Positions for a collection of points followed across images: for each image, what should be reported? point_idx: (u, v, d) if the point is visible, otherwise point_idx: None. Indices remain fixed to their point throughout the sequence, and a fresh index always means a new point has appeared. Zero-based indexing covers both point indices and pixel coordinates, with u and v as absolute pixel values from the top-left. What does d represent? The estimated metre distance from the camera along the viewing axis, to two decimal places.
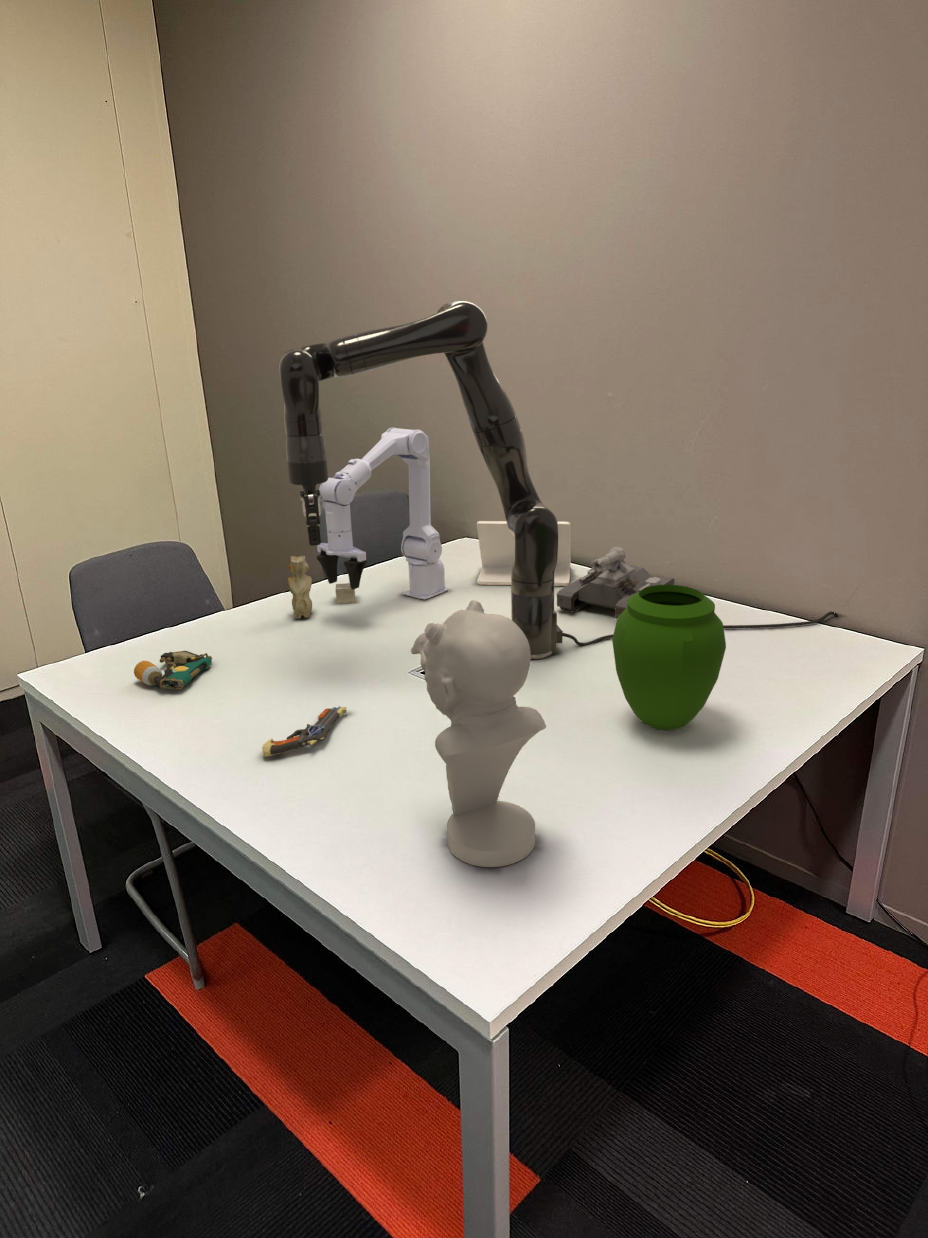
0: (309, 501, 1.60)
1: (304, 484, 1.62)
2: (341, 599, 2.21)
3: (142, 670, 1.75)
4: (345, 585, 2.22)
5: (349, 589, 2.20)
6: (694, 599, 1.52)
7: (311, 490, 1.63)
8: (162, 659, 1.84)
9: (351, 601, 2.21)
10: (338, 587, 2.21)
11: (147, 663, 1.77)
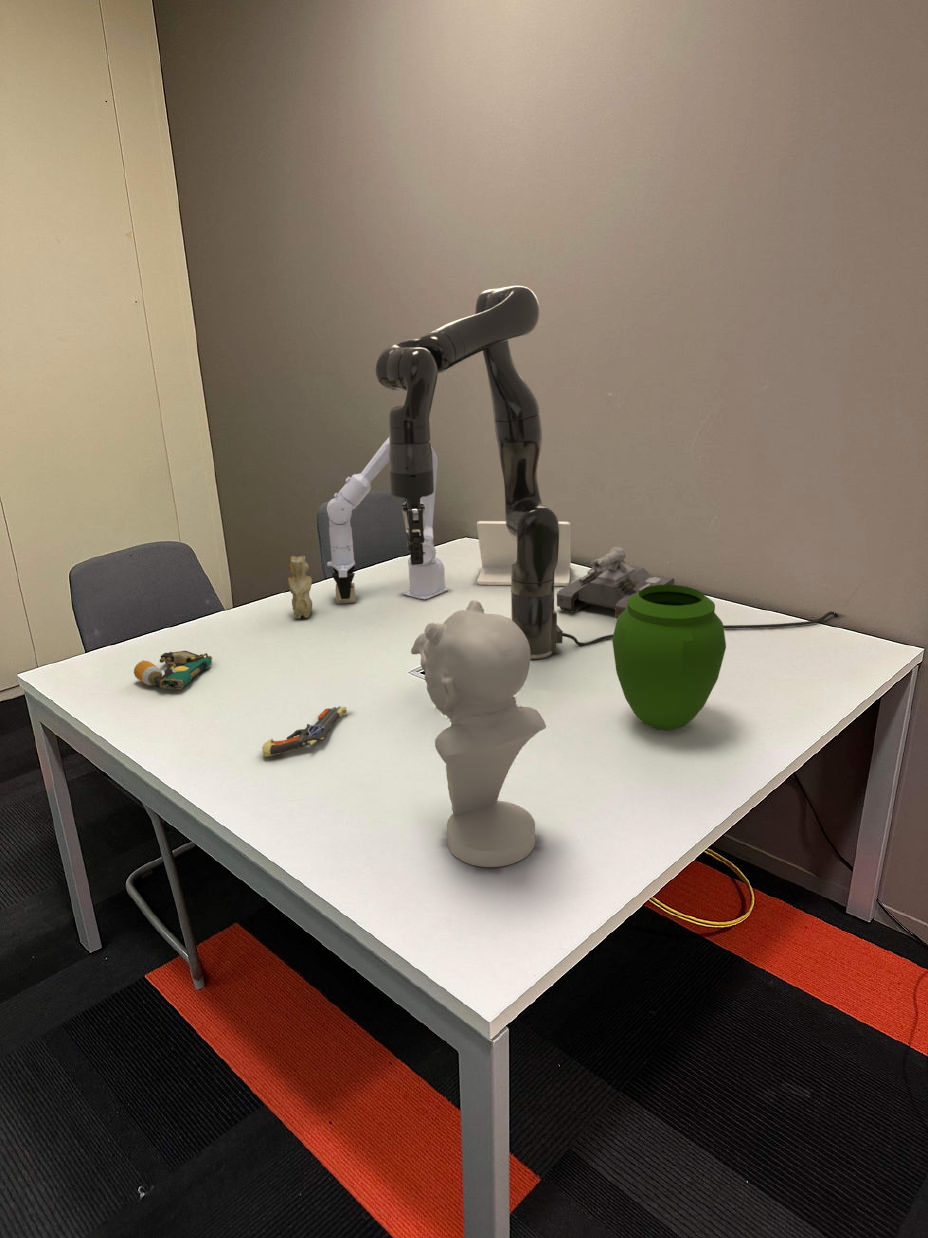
0: None
1: None
2: (341, 599, 2.21)
3: (142, 670, 1.75)
4: None
5: None
6: (694, 599, 1.52)
7: None
8: (162, 659, 1.84)
9: (351, 601, 2.21)
10: None
11: (147, 663, 1.77)
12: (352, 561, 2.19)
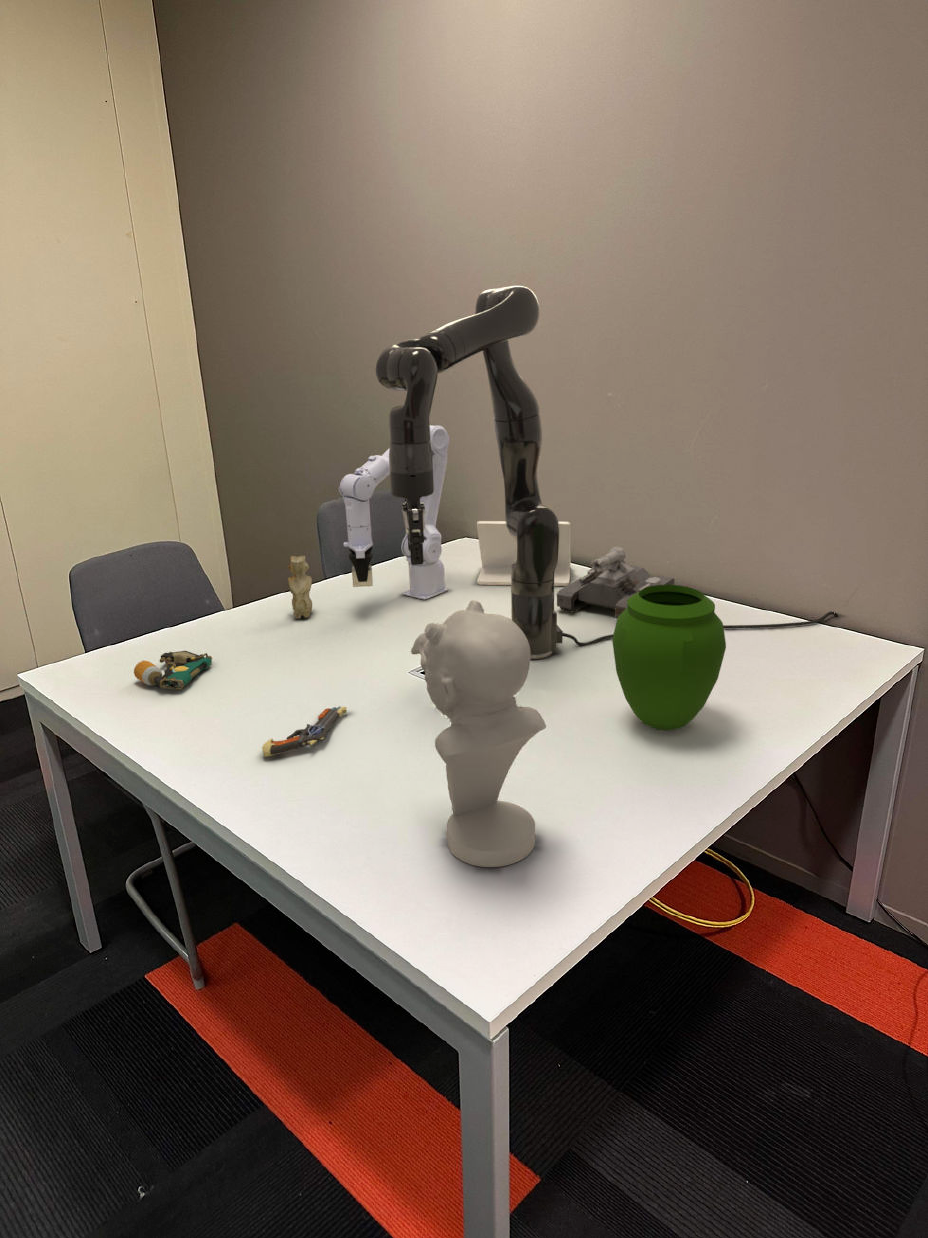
0: None
1: None
2: (357, 582, 2.08)
3: (142, 670, 1.75)
4: None
5: None
6: (694, 599, 1.52)
7: None
8: (162, 659, 1.84)
9: (368, 584, 2.09)
10: (354, 569, 2.08)
11: (147, 663, 1.77)
12: (370, 541, 2.06)
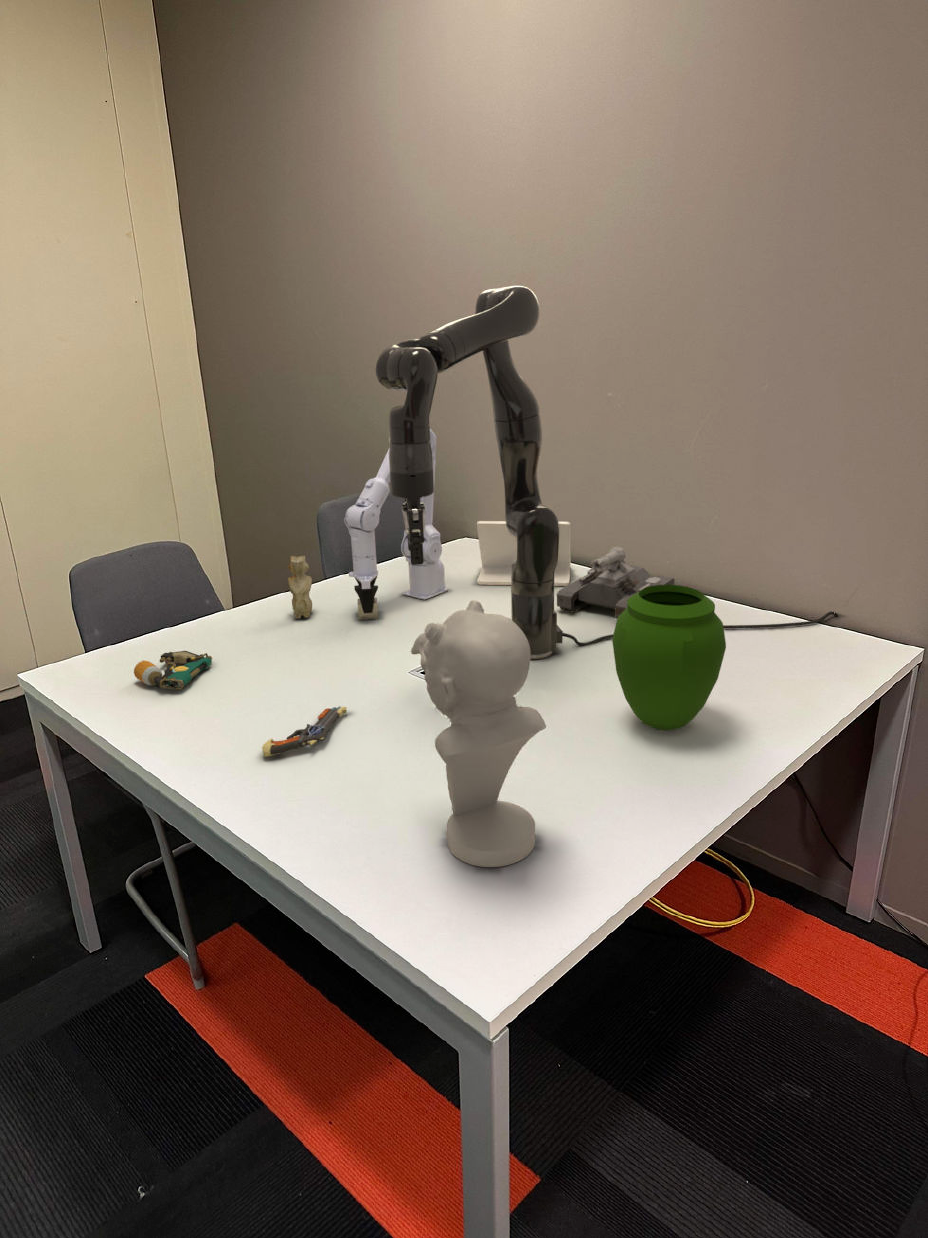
0: None
1: None
2: (363, 615, 2.09)
3: (142, 670, 1.75)
4: None
5: None
6: (694, 599, 1.52)
7: None
8: (162, 659, 1.84)
9: (374, 617, 2.10)
10: (360, 602, 2.09)
11: (147, 663, 1.77)
12: (375, 571, 2.07)
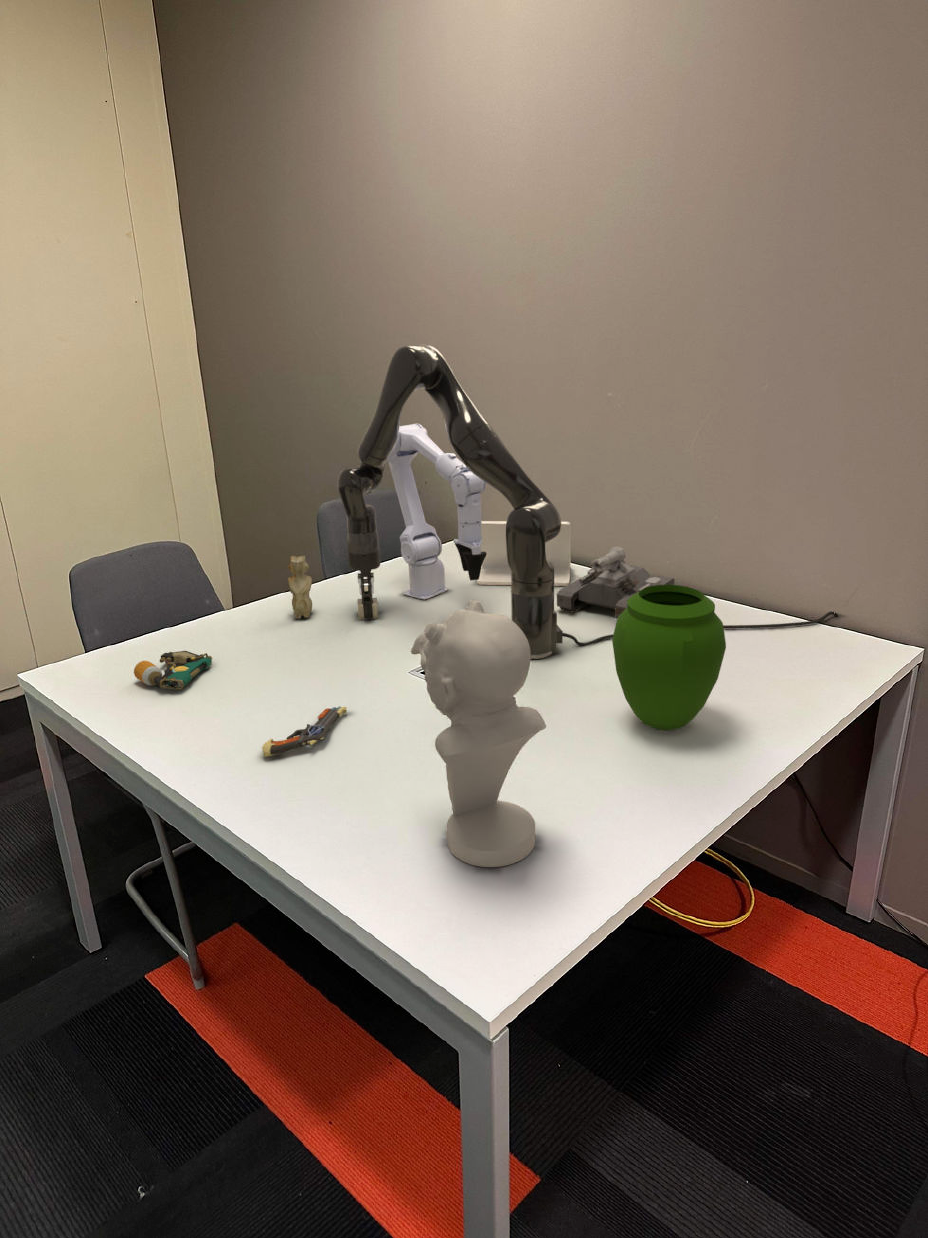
0: None
1: None
2: (363, 615, 2.09)
3: (142, 670, 1.75)
4: None
5: (372, 604, 2.09)
6: (694, 599, 1.52)
7: None
8: (162, 659, 1.84)
9: (374, 617, 2.10)
10: (360, 602, 2.09)
11: (147, 663, 1.77)
12: (481, 538, 2.06)
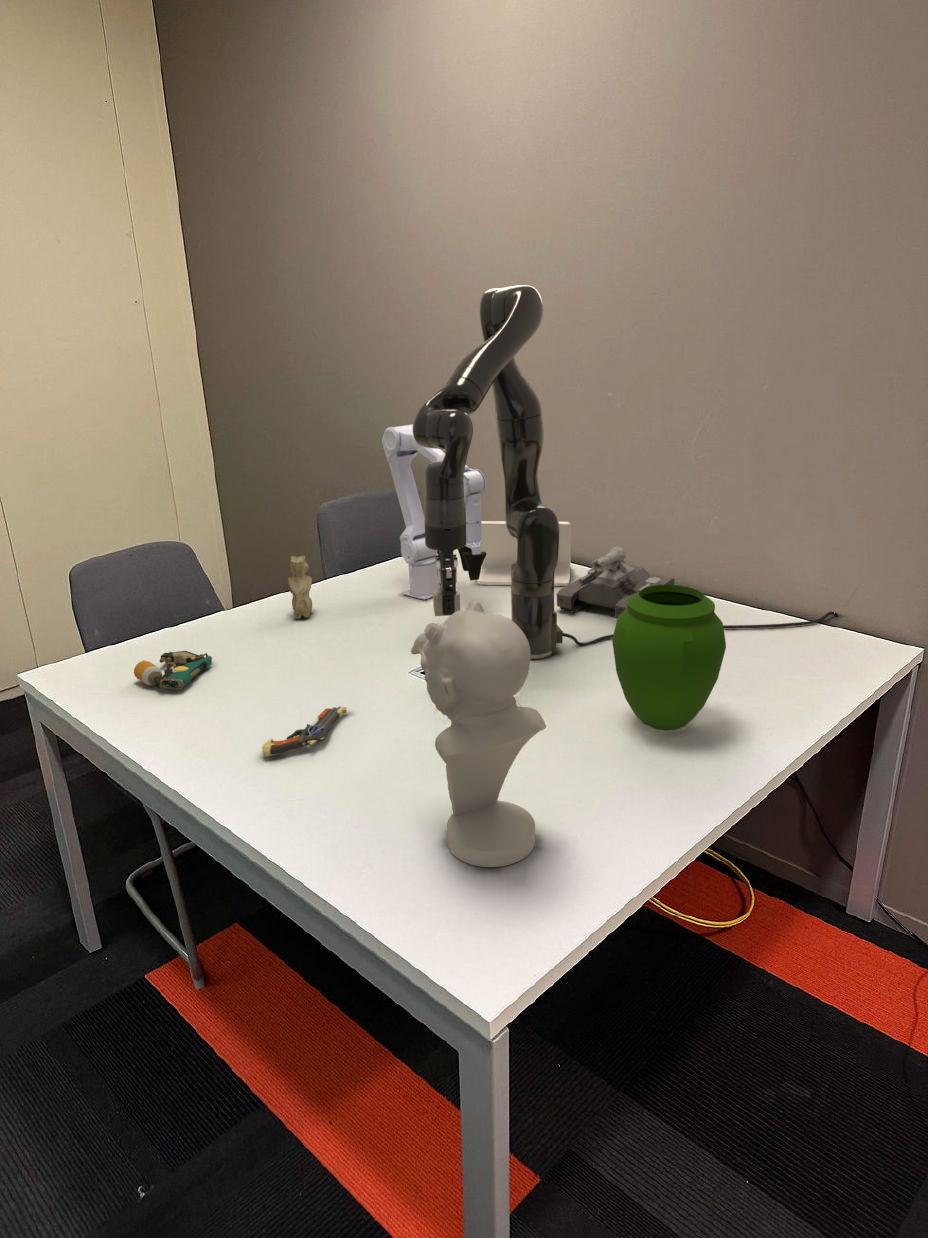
0: None
1: None
2: (441, 610, 1.58)
3: (142, 670, 1.75)
4: None
5: None
6: (694, 599, 1.52)
7: None
8: (162, 659, 1.84)
9: None
10: (437, 593, 1.58)
11: (147, 663, 1.77)
12: (481, 538, 2.06)
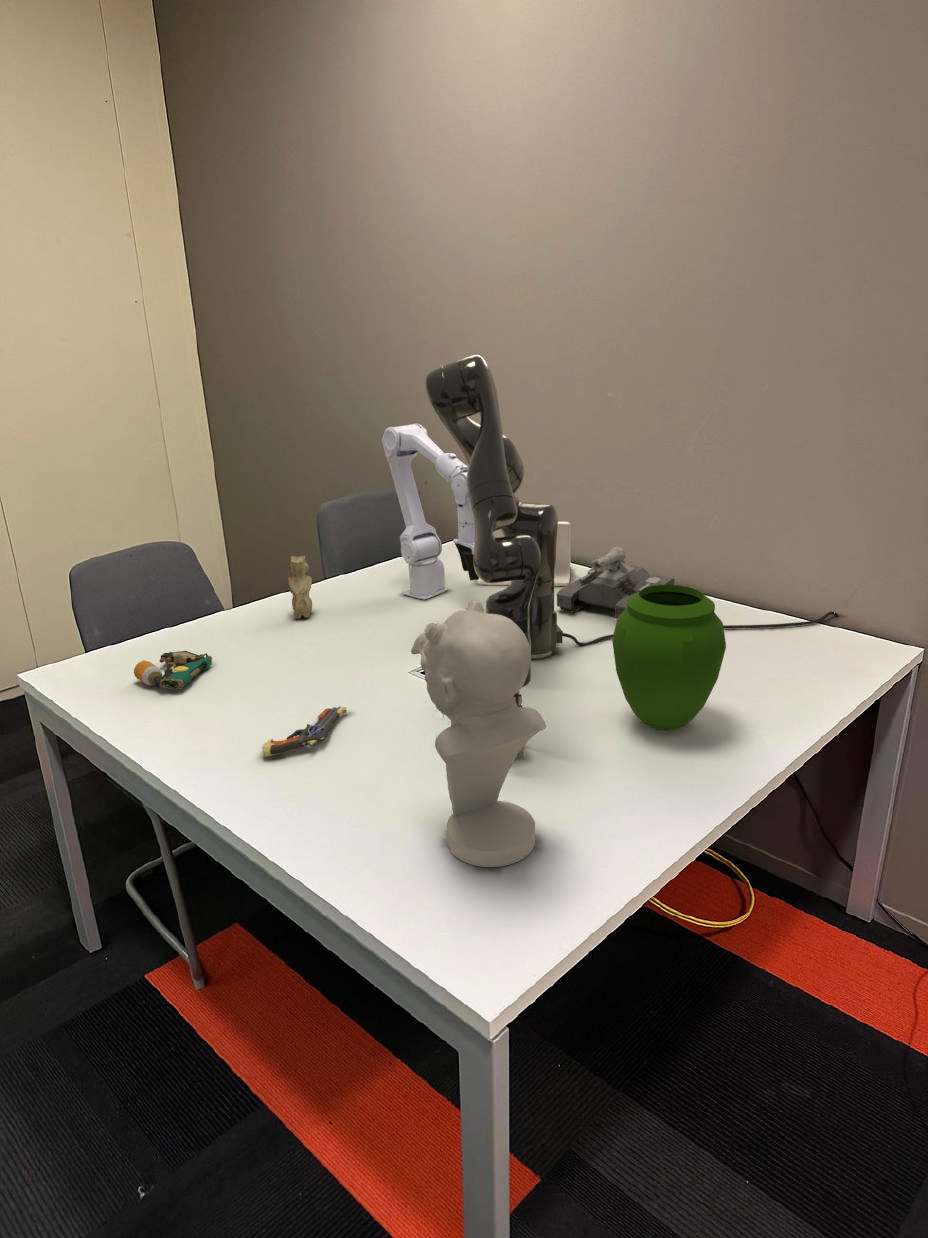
0: None
1: None
2: None
3: (142, 670, 1.75)
4: None
5: None
6: (694, 599, 1.52)
7: None
8: (162, 659, 1.84)
9: (518, 756, 1.44)
10: None
11: (147, 663, 1.77)
12: None
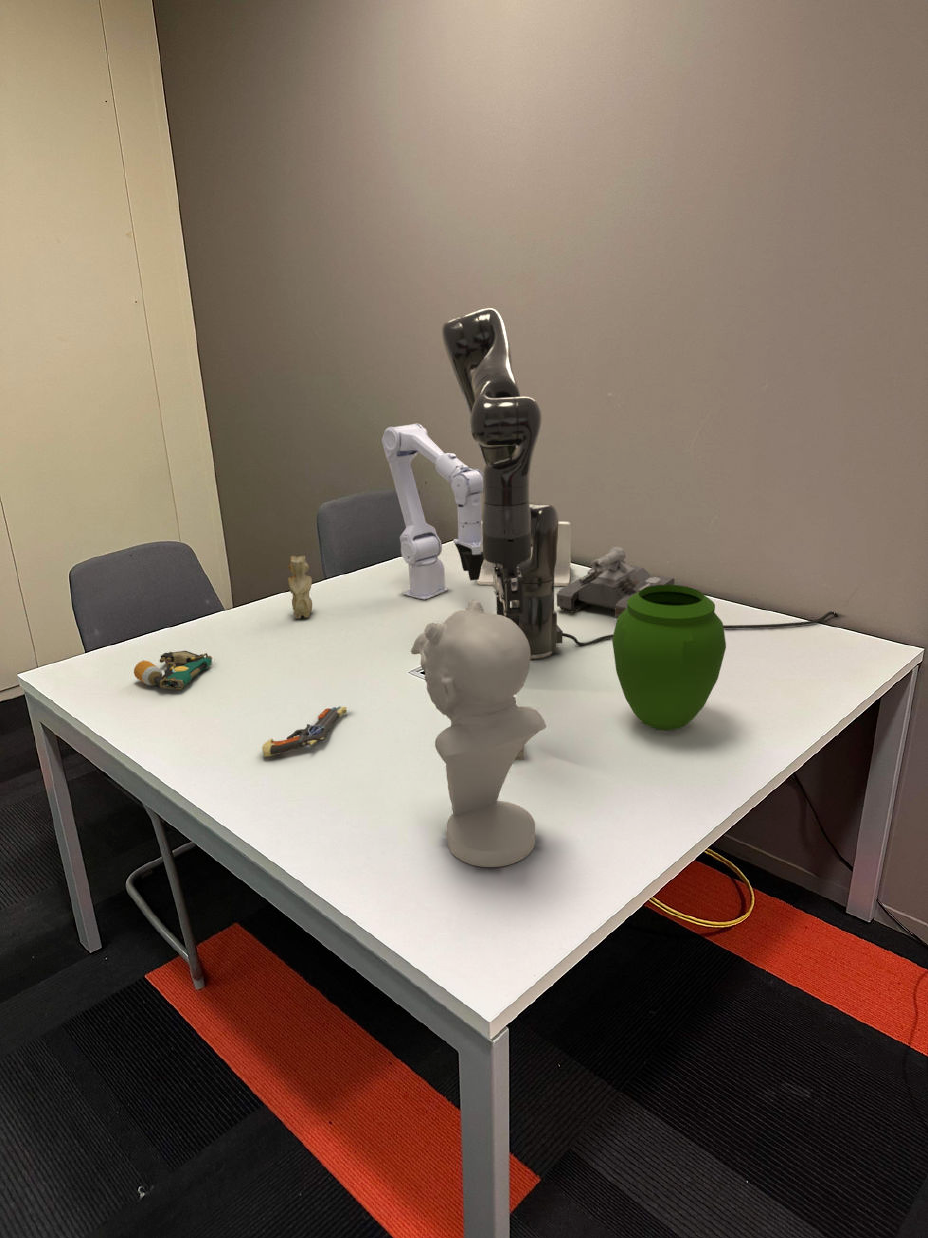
0: None
1: None
2: None
3: (142, 670, 1.75)
4: None
5: None
6: (694, 599, 1.52)
7: None
8: (162, 659, 1.84)
9: (518, 756, 1.44)
10: None
11: (147, 663, 1.77)
12: (481, 538, 2.06)
